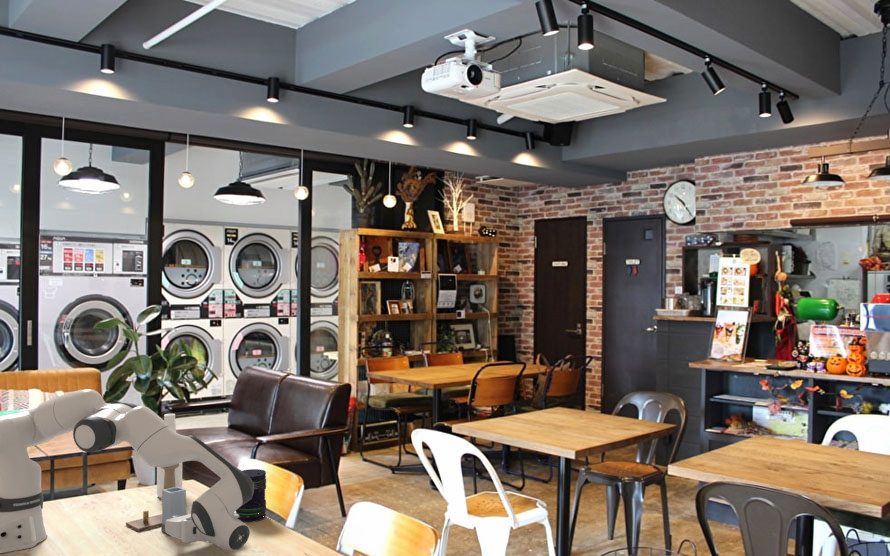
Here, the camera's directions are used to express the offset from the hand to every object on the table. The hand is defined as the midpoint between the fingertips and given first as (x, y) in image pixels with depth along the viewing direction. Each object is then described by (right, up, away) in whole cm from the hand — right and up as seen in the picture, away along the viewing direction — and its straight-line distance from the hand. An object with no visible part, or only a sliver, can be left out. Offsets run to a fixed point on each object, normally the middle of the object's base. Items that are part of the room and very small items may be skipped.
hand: (188, 514), depth 226 cm
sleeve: (-7, -7, +6) cm, 12 cm away
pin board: (-15, -7, +15) cm, 22 cm away
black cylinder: (+14, -8, +20) cm, 25 cm away
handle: (-18, -8, +33) cm, 39 cm away
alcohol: (-23, -8, +46) cm, 52 cm away
